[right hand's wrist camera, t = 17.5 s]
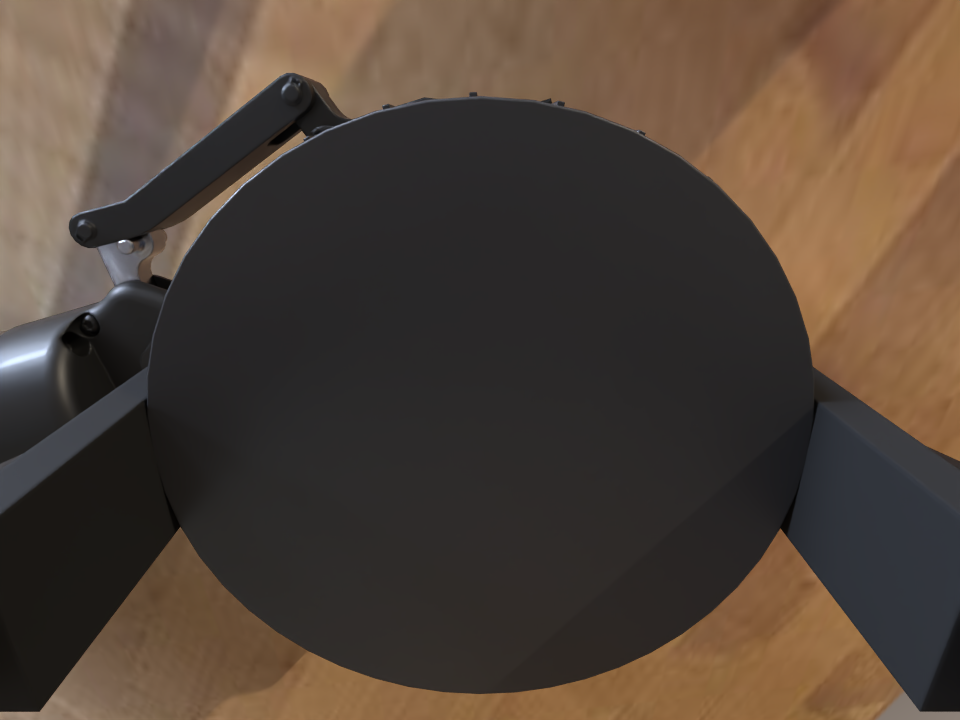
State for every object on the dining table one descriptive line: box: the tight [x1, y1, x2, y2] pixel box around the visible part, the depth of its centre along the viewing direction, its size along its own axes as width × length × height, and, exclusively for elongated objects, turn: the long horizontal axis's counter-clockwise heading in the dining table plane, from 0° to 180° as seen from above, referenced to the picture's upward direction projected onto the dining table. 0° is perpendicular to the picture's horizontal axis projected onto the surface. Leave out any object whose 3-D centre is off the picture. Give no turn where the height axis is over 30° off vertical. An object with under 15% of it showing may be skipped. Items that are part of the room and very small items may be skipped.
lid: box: [147, 92, 814, 694], centre depth 11 cm, size 11×11×2 cm
